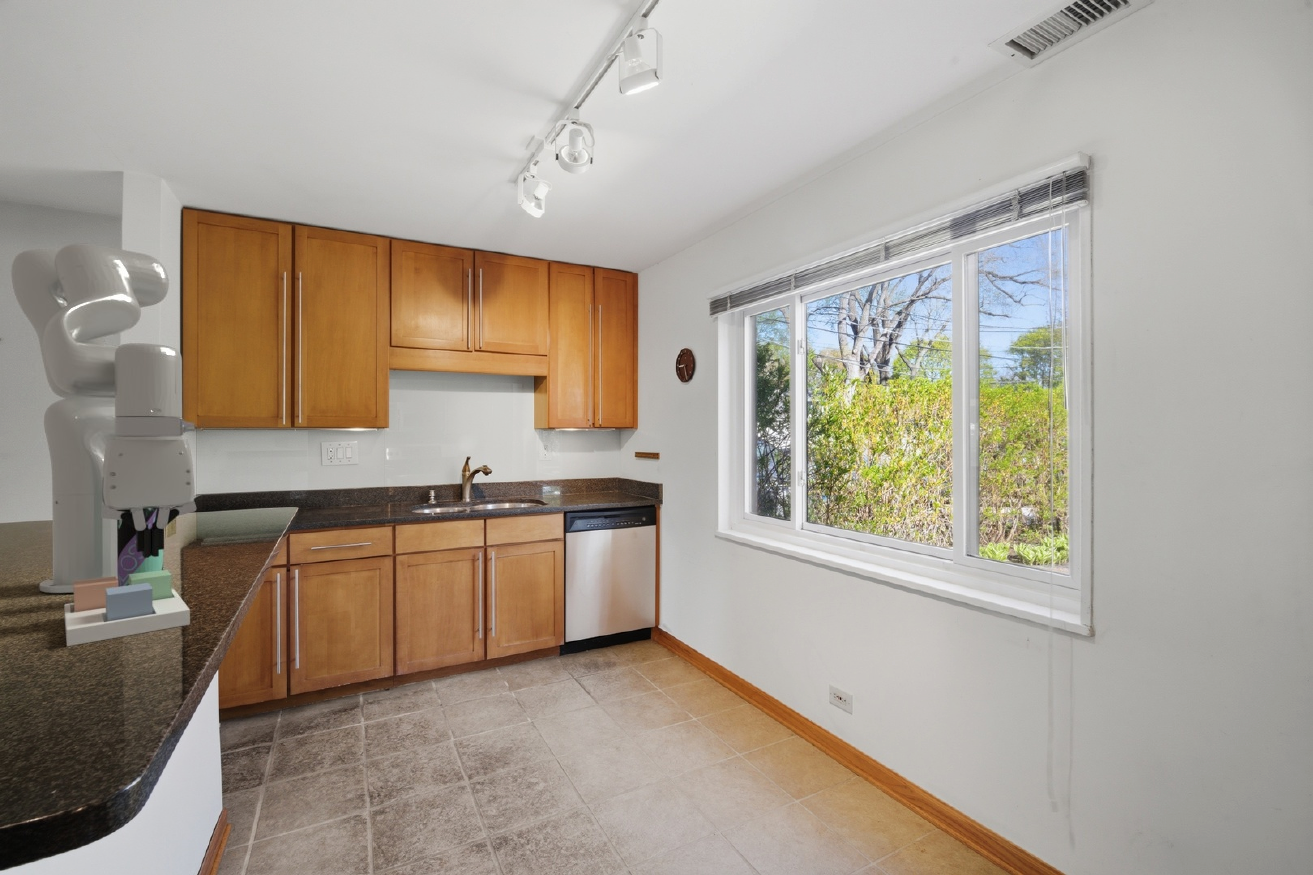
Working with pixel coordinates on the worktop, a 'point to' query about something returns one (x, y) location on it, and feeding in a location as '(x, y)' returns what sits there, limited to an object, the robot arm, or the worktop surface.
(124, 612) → the slate key
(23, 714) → the worktop surface
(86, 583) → the terracotta key
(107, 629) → the key console
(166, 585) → the sage key
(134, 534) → the spray can
